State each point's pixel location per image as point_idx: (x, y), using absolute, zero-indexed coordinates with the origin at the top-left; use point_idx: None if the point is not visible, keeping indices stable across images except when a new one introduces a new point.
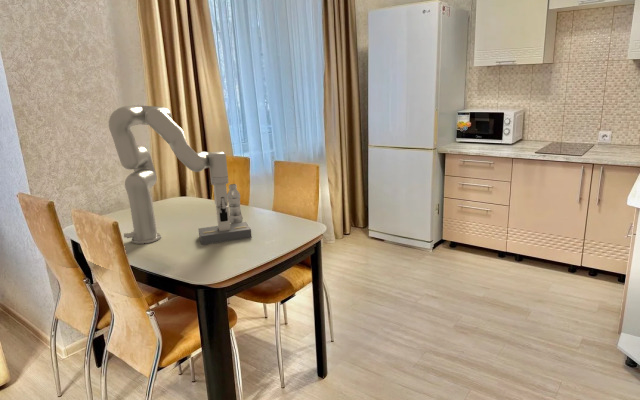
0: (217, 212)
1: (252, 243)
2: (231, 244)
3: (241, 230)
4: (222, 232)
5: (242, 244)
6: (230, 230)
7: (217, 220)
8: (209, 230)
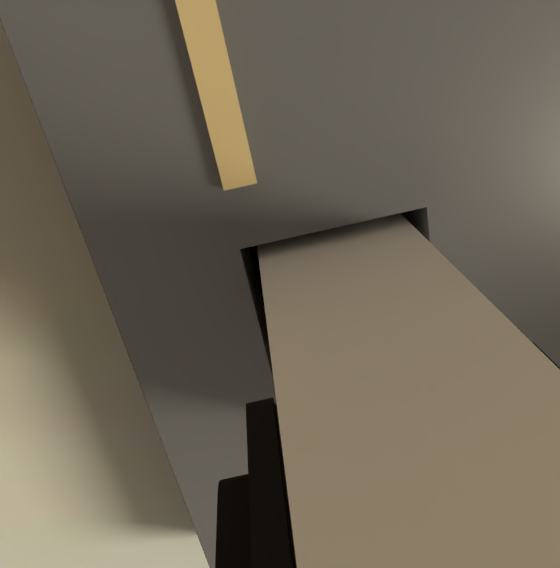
0: (298, 545)
1: (45, 554)
2: (28, 369)
3: (201, 545)
4: (159, 318)
5: (19, 475)
6: (238, 419)
7: (467, 287)
8: (336, 67)
